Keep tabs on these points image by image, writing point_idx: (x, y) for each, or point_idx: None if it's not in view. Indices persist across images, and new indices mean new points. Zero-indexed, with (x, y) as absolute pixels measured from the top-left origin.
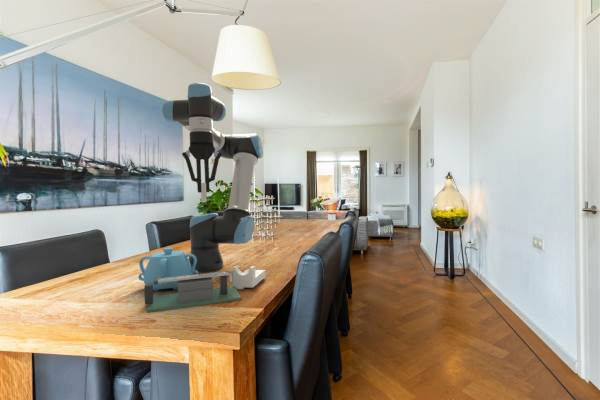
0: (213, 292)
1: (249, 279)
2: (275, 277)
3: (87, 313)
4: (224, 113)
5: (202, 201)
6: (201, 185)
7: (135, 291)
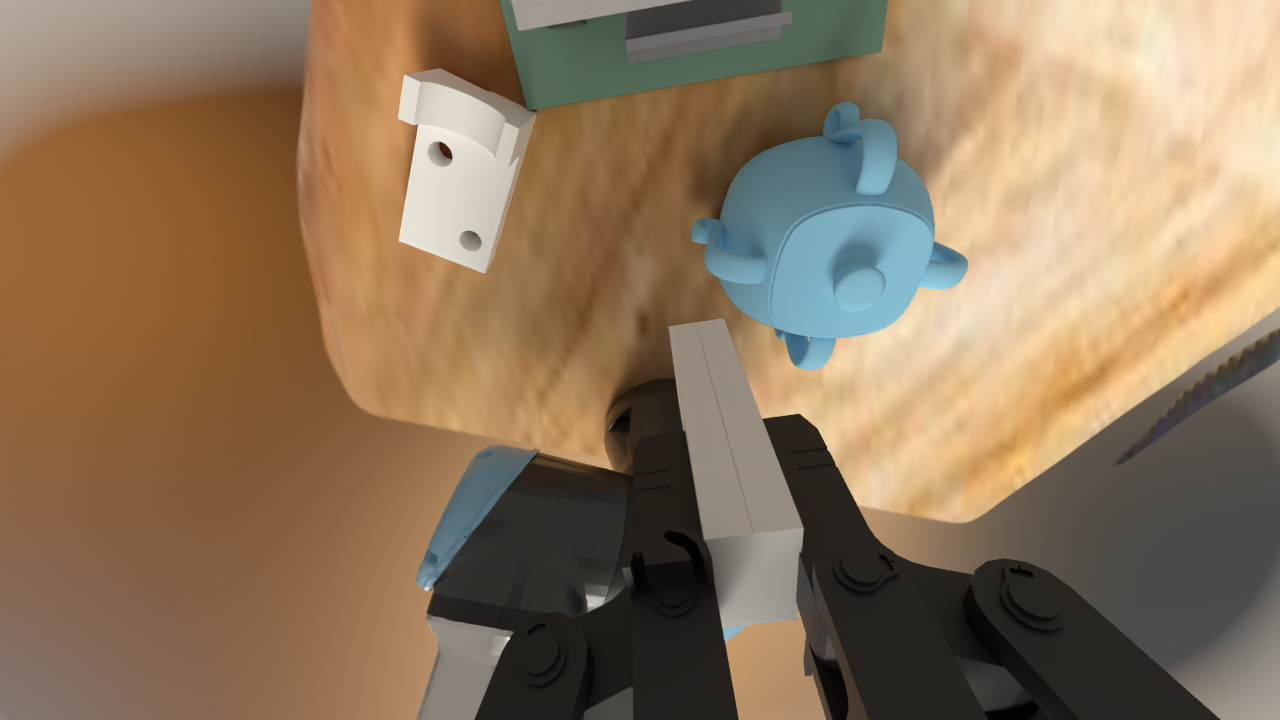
0: (615, 29)
1: (444, 78)
2: (371, 236)
3: None
4: None
5: (720, 327)
6: (785, 487)
7: None
